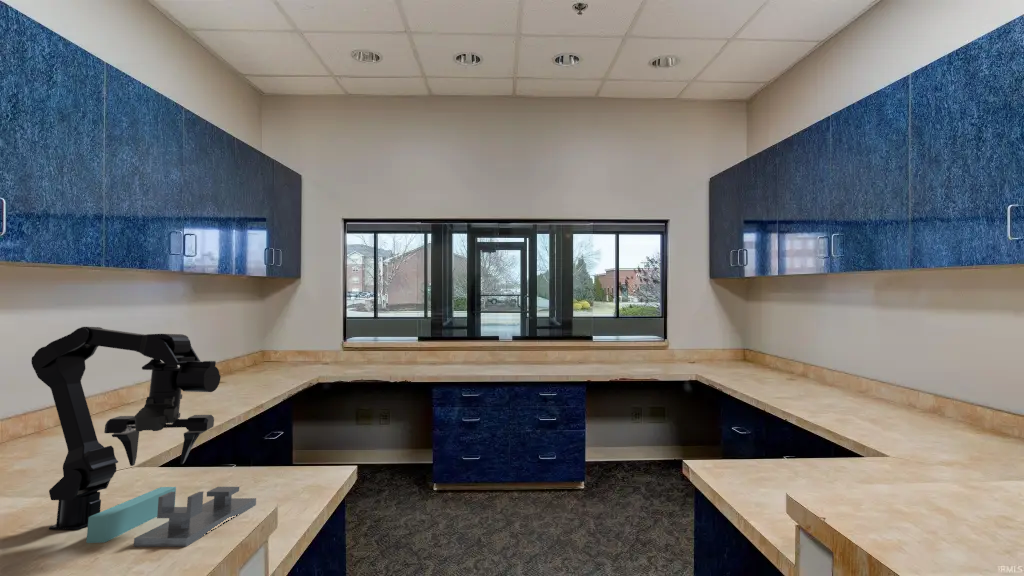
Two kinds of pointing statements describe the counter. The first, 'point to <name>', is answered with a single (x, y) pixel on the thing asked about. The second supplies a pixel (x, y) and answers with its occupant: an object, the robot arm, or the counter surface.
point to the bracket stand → (192, 517)
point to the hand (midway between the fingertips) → (157, 464)
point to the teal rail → (124, 516)
